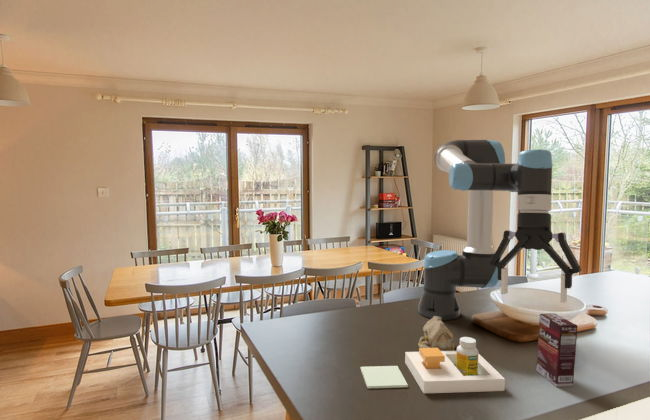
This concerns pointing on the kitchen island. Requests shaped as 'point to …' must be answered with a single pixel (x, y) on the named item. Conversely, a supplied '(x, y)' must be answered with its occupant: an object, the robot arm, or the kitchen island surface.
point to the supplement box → (556, 349)
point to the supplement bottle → (467, 357)
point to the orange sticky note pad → (431, 357)
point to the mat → (383, 377)
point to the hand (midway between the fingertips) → (532, 297)
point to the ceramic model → (436, 335)
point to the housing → (453, 375)
